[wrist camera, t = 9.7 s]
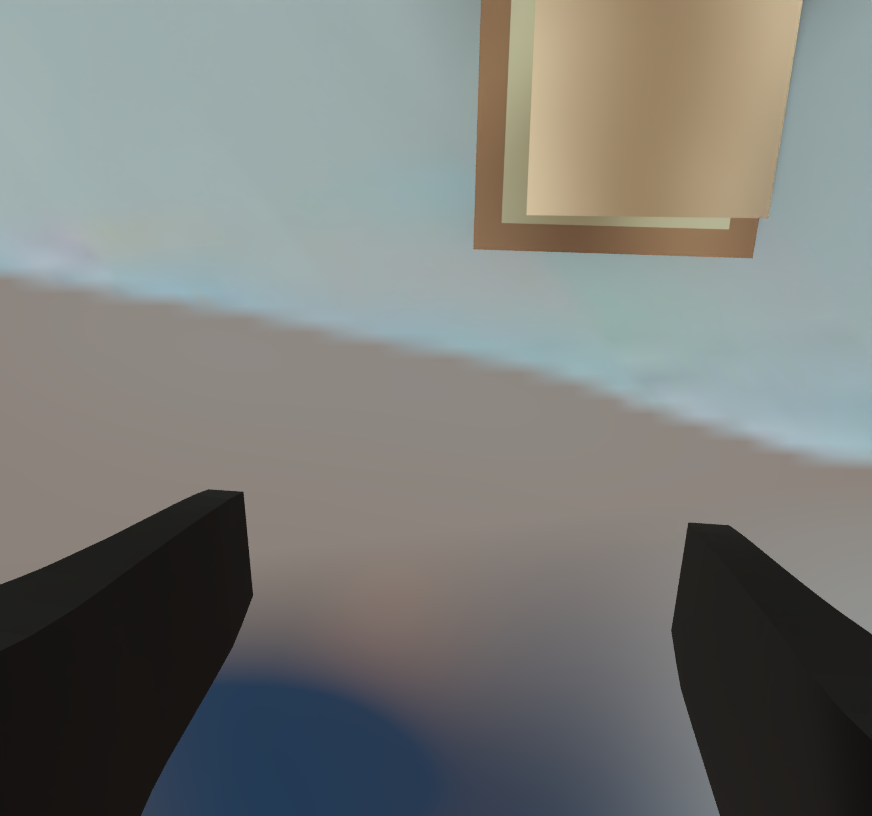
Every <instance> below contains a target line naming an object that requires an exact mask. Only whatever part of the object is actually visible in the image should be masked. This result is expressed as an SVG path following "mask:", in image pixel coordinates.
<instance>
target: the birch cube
mask: <svg viewBox="0 0 872 816" xmlns="http://www.w3.org/2000/svg"><path fill="white" fill-rule="evenodd" d="M802 2H803V0H535V23H534V46H533V70H532V94H531V117H530V141H529V165H528V188H527V213H526V215H551V216H628V217H704V218H768V217H769V210H770V204H771V198H772V191H773V185H774V179H775V173H776V166H777V160H778V154H779V147H780V141H781V135H782V128H783V122H784V116H785V109H786V103H787V97H788V91H789V84H790V78H791V72H792V65H793V59H794V53H795V46H796V40H797V34H798V27H799V21H800V15H801V9H802Z"/></svg>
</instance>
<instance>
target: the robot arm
mask: <svg viewBox="0 0 872 816" xmlns="http://www.w3.org/2000/svg"><path fill="white" fill-rule="evenodd" d="M248 548H249V547H248V537H247V527H246V515H245V504H244V494H243V492H237V491H222V490H209V489H208V490H206V491H203V492H200V493H198V494H195V495H193V496H191V497H189V498H187V499H184V500H182V501H180V502H178V503H176V504H174V505H172V506H170V507H168V508H166V509H164V510H162V511H160V512H158V513H156V514H154V515H152V516H150V517H148V518H146V519H144V520H142V521H140V522H138V523H136V524H135V525H133V526H130V527H129V528H126V529H125V530H123V531H121V532H119V533H117V534H115V535H113V536H111V537H109V538H107V539H105V540H103V541H100V542H98V543H96V544H94V545H92V546H89V547H87V548H85V549H83V550H81V551H79V552H76V553H74V554H72V555H70V556H68V557H66V558H63V559H62V560H59V561H57V562H55V563H53V564H51V565H48V566H46V567H43V568H42V569H39V570H36V571H34V572H31V573H29V574H27V575H24V576H22V577H19V578H17V579H14V580H11V581H9V582H6V583H3V584H0V816H141V814H142V812H143V809H144V807H145V805H146V803H147V800H148V798H149V796H150V794H151V791H152V789H153V788H154V786H155V783H156V782H157V780H158V778H159V776H160V774H161V772H162V770H163V768H164V766H165V765H166V763H167V761H168V759H169V757H170V755H171V754H172V752H173V750H174V749H175V747H176V745H177V743H178V742H179V740H180V738H181V737H182V735H183V733H184V731H185V730H186V728H187V726H188V724H189V723H190V721H191V719H192V718H193V716H194V714H195V712H196V710H197V709H198V707H199V705H200V704H201V702H202V700H203V699H204V697H205V695H206V693H207V692H208V690H209V688H210V686H211V685H212V683H213V681H214V679H215V678H216V676H217V674H218V672H219V670H220V669H221V667H222V665H223V663H224V662H225V660H226V658H227V656H228V654H229V653H230V651H231V649H232V647H233V645H234V642H235V640H236V637H237V635H238V633H239V630H240V628H241V626H242V623H243V620H244V618H245V615H246V613H247V610H248V607H249V605H250V602H251V599H252V597H253V590H252V580H251V570H250V558H249V549H248ZM671 631H672V637H673V644H674V651H675V657H676V664H677V669H678V675H679V680H680V686H681V690H682V694H683V697H684V701H685V704H686V707H687V711H688V714H689V717H690V721H691V724H692V727H693V730H694V734H695V737H696V740H697V743H698V747H699V749H700V753H701V756H702V759H703V762H704V766H705V769H706V772H707V775H708V778H709V782H710V785H711V788H712V791H713V795H714V798H715V801H716V804H717V807H718V810H719V814H720V816H872V634H871V633H869V632H868V631H866V630H865V629H863V628H862V627H860V626H859V625H857V624H856V623H855V622H854V621H852V620H851V619H849V618H848V617H846V616H845V615H844V614H842V613H841V612H839V611H838V610H836V609H835V608H834V607H832V606H831V605H830V604H828V603H827V602H826V601H825V600H823V599H822V598H821V597H819V596H818V595H817V594H815V593H814V592H813V591H811V590H810V589H809V588H808V587H806V586H805V585H804V584H803V583H801V582H800V581H799V580H798V579H796V578H795V577H794V576H793V575H791V574H790V573H789V572H788V571H786V570H785V569H784V568H782V567H781V566H780V565H779V564H778V563H776V562H775V561H774V560H773V559H771V558H770V557H769V556H768V555H767V554H765V553H764V552H763V551H762V550H760V549H759V548H758V547H757V546H756V545H754V544H753V543H752V542H751V541H749V540H748V539H747V538H746V537H744V536H743V535H742V534H740V533H739V532H738V531H736V530H735V529H733V528H732V527H731V526H729V525H716V524H702V523H688V528H687V534H686V541H685V547H684V553H683V561H682V566H681V573H680V579H679V585H678V592H677V598H676V605H675V611H674V617H673V623H672V630H671Z"/></svg>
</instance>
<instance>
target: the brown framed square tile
mask: <svg viewBox="0 0 872 816" xmlns="http://www.w3.org/2000/svg"><path fill="white" fill-rule="evenodd" d="M534 23H535V0H481V23H480V55H479V88H478V120H477V153H476V185H475V218H474V249H484V250H515V251H546V252H577V253H608V254H639V255H670V256H702V257H733V258H753V252H754V246H755V240H756V234H757V228H758V222H759V218H704V217H628V216H551V215H526V213H527V188H528V165H529V141H530V117H531V94H532V70H533V46H534Z"/></svg>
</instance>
